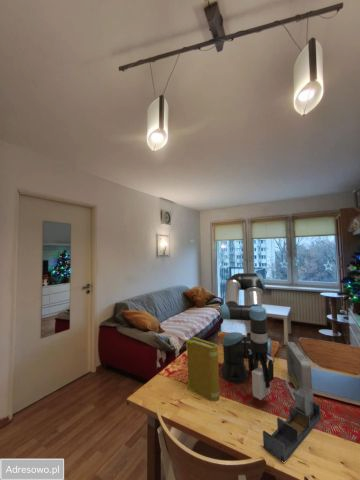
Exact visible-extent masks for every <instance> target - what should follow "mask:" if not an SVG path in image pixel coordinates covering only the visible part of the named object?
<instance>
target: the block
mask: <svg viewBox="0 0 360 480" xmlns="http://www.w3.org/2000/svg"><path fill="white" fill-rule="evenodd" d="M263 380H264V374H263V369H262V365H261V364H260V365H258V368H256V369H254V370H253V371H252V372H251V382H252V385H251V386H252V396H253V397H254V398H256V399H258V400H259V401H261V400H263V399H264V398H265V397H267V396H268V395H269V394H270V393H271V386H270V387H269V388H268V391H269V393H268V394H267V395H264V387H263Z"/></svg>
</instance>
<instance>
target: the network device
mask: <svg viewBox="0 0 360 480" xmlns="http://www.w3.org/2000/svg"><path fill="white" fill-rule="evenodd" d="M285 350H286V367H287V369H286V371H287V375H288V378H289V379H286V380H285V385H286V386H287V390H288V392H289V393H290V395H291V397H292V400H293V402H295V392H296V391H297V390H298V389H299V388H300V387H301V386H303V385H304V386H306V387H308V388H310V389H313V383H312V382H313V381H312V367H311V364H310V362H309V361H308V359H307V358H306V356H305V355H304V354H303V352H302V351H301V349H299V347H298V346H297V345H296V344H295V342H292V341H286V342H285ZM289 383H292V385H293V386H294V388H293V387H291V386H290V384H289Z"/></svg>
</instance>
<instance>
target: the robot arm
mask: <svg viewBox="0 0 360 480" xmlns="http://www.w3.org/2000/svg"><path fill="white" fill-rule="evenodd" d="M225 288H226V293H225V294H226V296H225V303H224V304H221V305H220V318H221V319H223V320H228V321H229V320H231V321H233V320H234V321H235V320H236V321H248V332H247V333H246V336H244V334H243V333H242V332H238V331H234V332H233V331H231V332H228V333H226V334H224V335H223V337H222V346H223V347H222V350H223V362H222V365H221V369H220V375H221V377H222V378H223V379H224V380H225V381H226V382H229V383H232V384H233V383H234V384H241V383H245V382H246V381H247V380H248V379H249V373H250V372H251V373H252V371H253V370H254V369H256V368H258V367H259V363H260V366H261V365H262V369H263V374H264V380H263V387H264V395H266V396H268V395H269V394H270V393H269V391H268V388H269V387H270V388H271V382H272V381H274V379H275V378H274V376H275V374H274V371H275V370H274V363H275V358H273V357H271V356H272V339H271V338H270V337H269V336H268V329H267V328H268V327H267V321H268V320H267V318H268V317H267V316H268V315H267V310H266V308H265V307H263V303H262V295H263V294H264V291H266V285H265V279H264V276H263V275H262V273H258V272H253V273H249V272H248V273H247V272H246V273H244V272H242V273H241V272H238V273H235V274H233V275H231V276H229V278H228V279H227V281H226V284H225ZM240 291H244V293H245V294H246V295H247V305H243V304H240ZM245 360H247V362H248V363H247V366H248V370H247V367H246V363H245ZM248 372H249V373H248ZM268 393H269V394H268ZM267 394H268V395H267Z"/></svg>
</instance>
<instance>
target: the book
mask: <svg viewBox="0 0 360 480" xmlns="http://www.w3.org/2000/svg"><path fill="white" fill-rule="evenodd" d="M185 344H186V347H185V348H186V351H187V353H186V354H187V355H186V357H187V358H186V359H187V390H189V391H190V392H192V393H195V394H197V395H199V396H201V397H202V398H204V399H206V400H208V401H210V402H217V401H219V400H220V376H219V375H220V373H219V372H220V371H219V369H220V368H219V352H218V351H219V348H218V344H216V343H214V342H211V341H208V340H203V339H201V338H199V337H196V336H193V337H191V339H187V340H186V343H185Z"/></svg>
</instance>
